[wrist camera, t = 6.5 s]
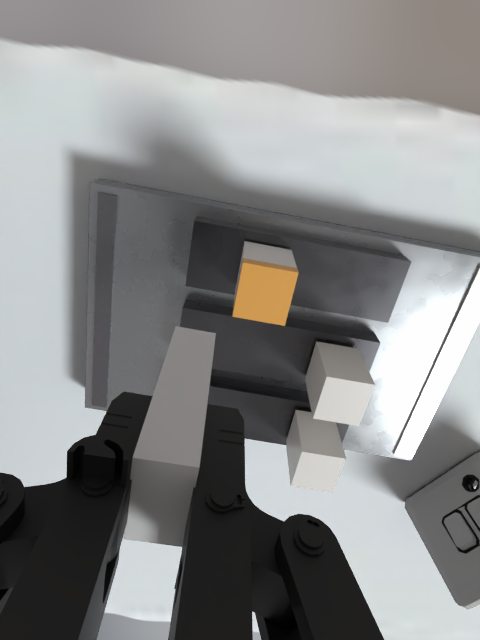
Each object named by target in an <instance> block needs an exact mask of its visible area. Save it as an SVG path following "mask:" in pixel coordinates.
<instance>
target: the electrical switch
mask: <svg viewBox="0 0 480 640" xmlns="http://www.w3.org/2000/svg"><path fill="white" fill-rule="evenodd" d="M476 485H477V487H476V489H474V488H473V487H474V486H476ZM405 509H406V511H407V513H408V514H409V516H410V518H411V520H412V522H413V524H414V526H415V528H416V529H417V531H418V533H419V535H420V537H421V539H422V541H423V542H424V544H425V546H426V548H427V550H428V552H429V554H430V556H431V557H432V559H433V561H434V563H435V565H436V567H437V569H438V570H439V572H440V574H441V576H442V578H443V580H444V582H445V584H446V585H447V587H448V589H449V591H450V593H451V595H452V597H453V598H454V600H455V602H456V603H457V604H458V605H460V606H462V607H465V608H466V609H471V608H473V607H475V606H477V605H479V604H480V452H478V453H475V454H474V455H472V456H471V457H469V458H468V459H466V460H465V461H463V462H462V463H460V464H459V465H457V466H456V467H454V468H453V469H451V470H450V471H448V472H447V473H445V474H444V475H442V476H441V477H439V478H438V479H436V480H435V481H433V482H432V483H430V484H429V485H427V486H426V487H424V488H423V489H421V490H420V491H418V492H417V493H415V494H414V495H412V496H411V497H409V498H408V499H407V500H406V501H405Z"/></svg>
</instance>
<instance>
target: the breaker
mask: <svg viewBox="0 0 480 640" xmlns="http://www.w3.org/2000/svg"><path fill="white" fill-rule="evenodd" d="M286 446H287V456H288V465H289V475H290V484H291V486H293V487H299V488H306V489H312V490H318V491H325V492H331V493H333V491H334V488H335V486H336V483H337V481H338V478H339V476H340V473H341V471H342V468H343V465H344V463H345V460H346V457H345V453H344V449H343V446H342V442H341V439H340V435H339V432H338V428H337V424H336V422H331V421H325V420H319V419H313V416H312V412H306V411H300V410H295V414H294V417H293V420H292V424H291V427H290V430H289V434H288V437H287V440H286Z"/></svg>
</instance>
